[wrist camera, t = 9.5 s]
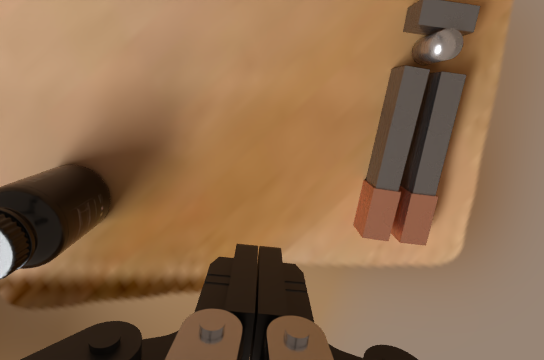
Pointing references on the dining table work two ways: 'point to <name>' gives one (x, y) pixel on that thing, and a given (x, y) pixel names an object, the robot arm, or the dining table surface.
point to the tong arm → (390, 152)
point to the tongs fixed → (431, 112)
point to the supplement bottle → (48, 215)
